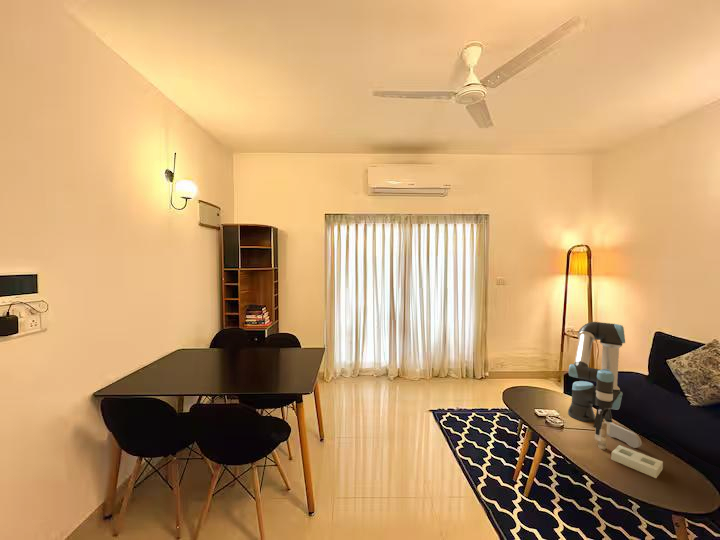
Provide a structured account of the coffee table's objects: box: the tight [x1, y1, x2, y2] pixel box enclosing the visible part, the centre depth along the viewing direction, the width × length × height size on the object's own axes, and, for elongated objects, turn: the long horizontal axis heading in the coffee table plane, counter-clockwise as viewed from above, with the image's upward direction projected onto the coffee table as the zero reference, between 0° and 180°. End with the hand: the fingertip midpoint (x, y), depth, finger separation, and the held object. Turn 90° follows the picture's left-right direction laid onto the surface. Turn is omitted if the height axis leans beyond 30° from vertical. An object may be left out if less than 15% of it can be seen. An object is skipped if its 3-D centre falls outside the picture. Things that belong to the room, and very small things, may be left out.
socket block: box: [610, 444, 664, 479], centre depth 169 cm, size 12×18×4 cm, turn 36°
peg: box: [597, 421, 608, 451], centre depth 184 cm, size 4×4×14 cm
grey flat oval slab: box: [606, 422, 642, 449], centre depth 191 cm, size 20×2×8 cm, turn 20°
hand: (602, 436), depth 184 cm, fingers open, 13 cm apart
